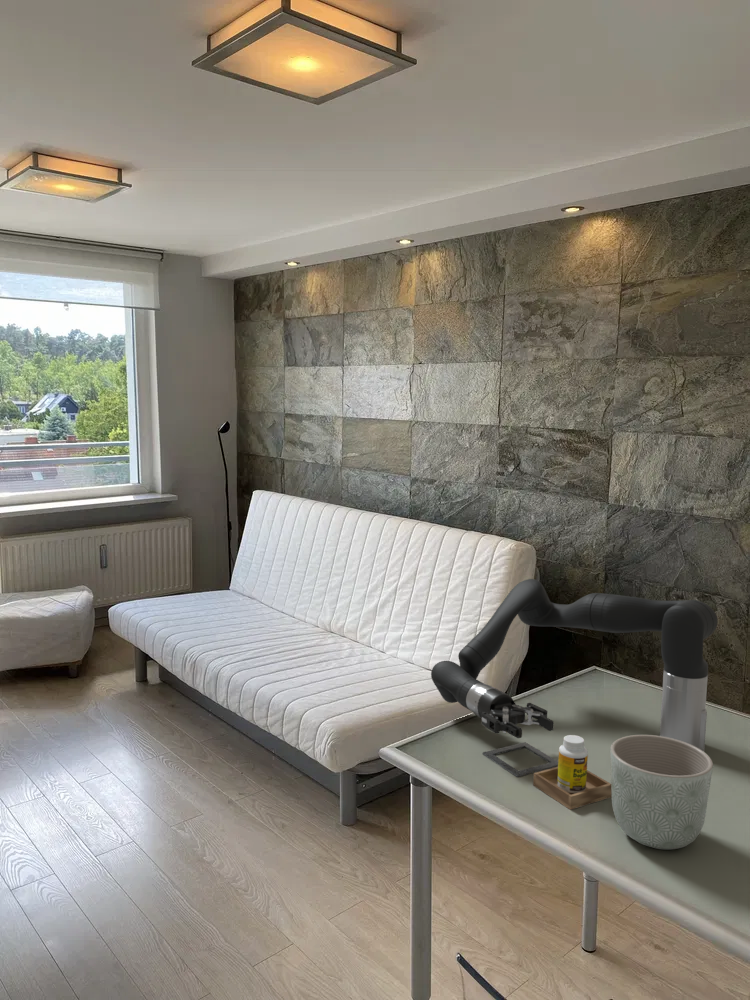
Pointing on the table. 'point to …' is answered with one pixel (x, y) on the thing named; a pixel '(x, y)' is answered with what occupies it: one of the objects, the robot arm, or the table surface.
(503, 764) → the grey square frame
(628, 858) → the table surface
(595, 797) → the tray
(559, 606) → the robot arm
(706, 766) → the planter
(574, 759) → the supplement bottle
